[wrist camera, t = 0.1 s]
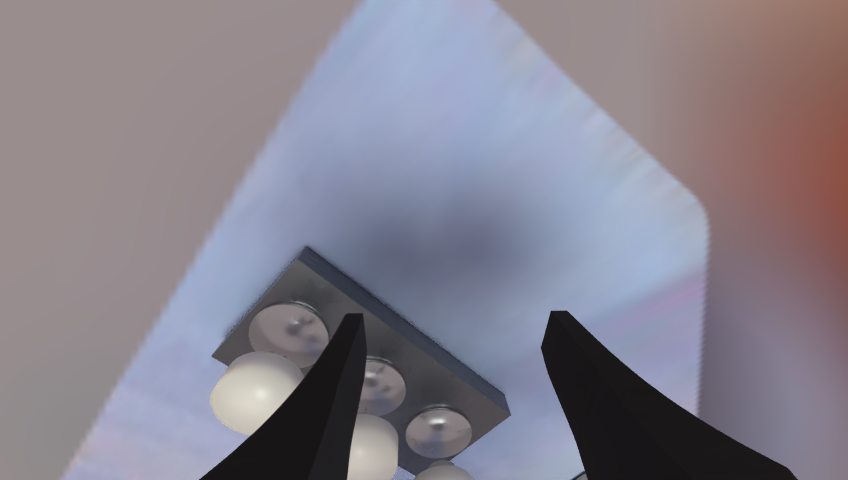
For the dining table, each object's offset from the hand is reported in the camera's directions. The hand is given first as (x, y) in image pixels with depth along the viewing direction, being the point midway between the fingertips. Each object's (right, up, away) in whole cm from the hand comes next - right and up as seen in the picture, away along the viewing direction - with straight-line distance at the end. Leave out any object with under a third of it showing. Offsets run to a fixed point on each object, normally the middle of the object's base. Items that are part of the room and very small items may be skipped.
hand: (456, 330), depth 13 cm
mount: (-5, -7, +14) cm, 16 cm away
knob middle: (-5, -8, +9) cm, 14 cm away
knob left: (-10, -4, +7) cm, 13 cm away
